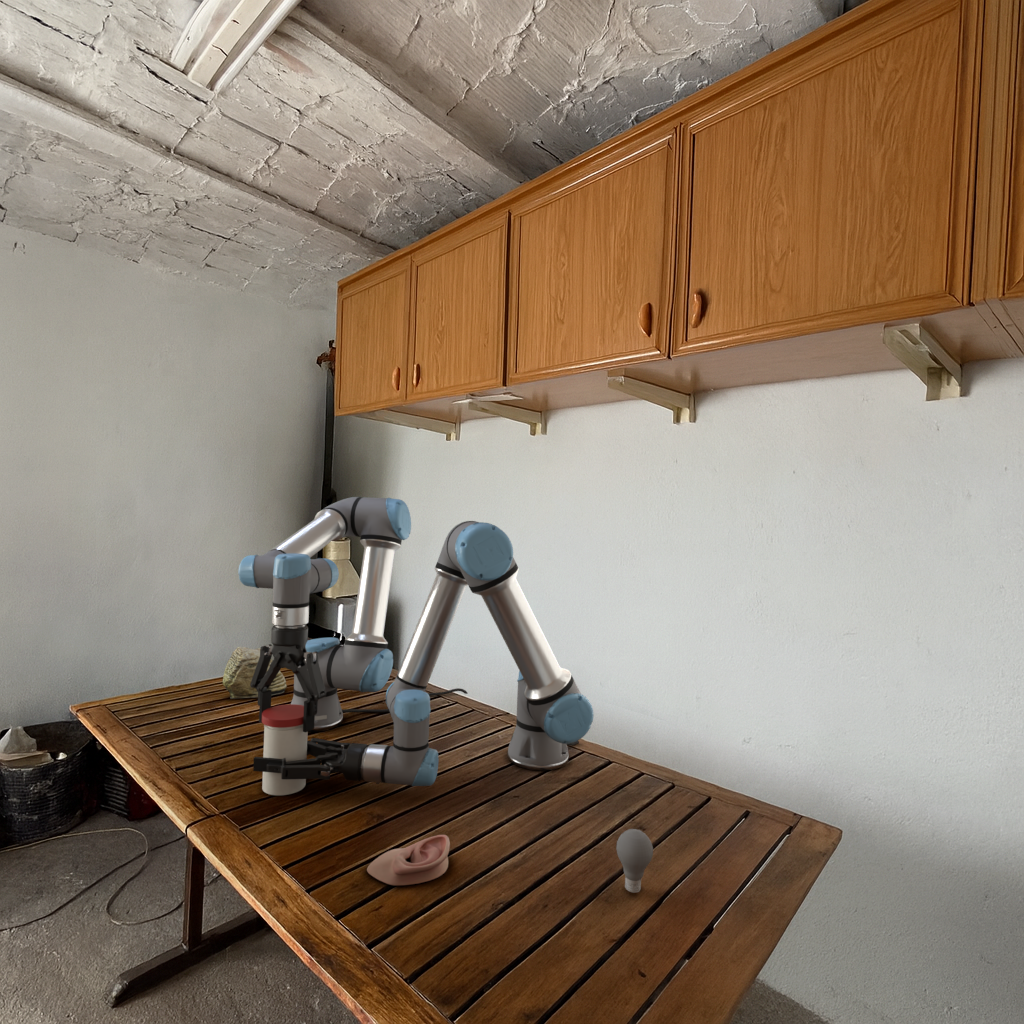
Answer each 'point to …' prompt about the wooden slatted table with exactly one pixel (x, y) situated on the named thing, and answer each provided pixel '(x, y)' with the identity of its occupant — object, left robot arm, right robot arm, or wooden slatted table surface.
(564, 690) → the right robot arm
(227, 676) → the fossil
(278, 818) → the wooden slatted table surface
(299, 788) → the jar
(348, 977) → the wooden slatted table surface
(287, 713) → the lid
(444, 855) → the anatomical model
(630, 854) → the light bulb
